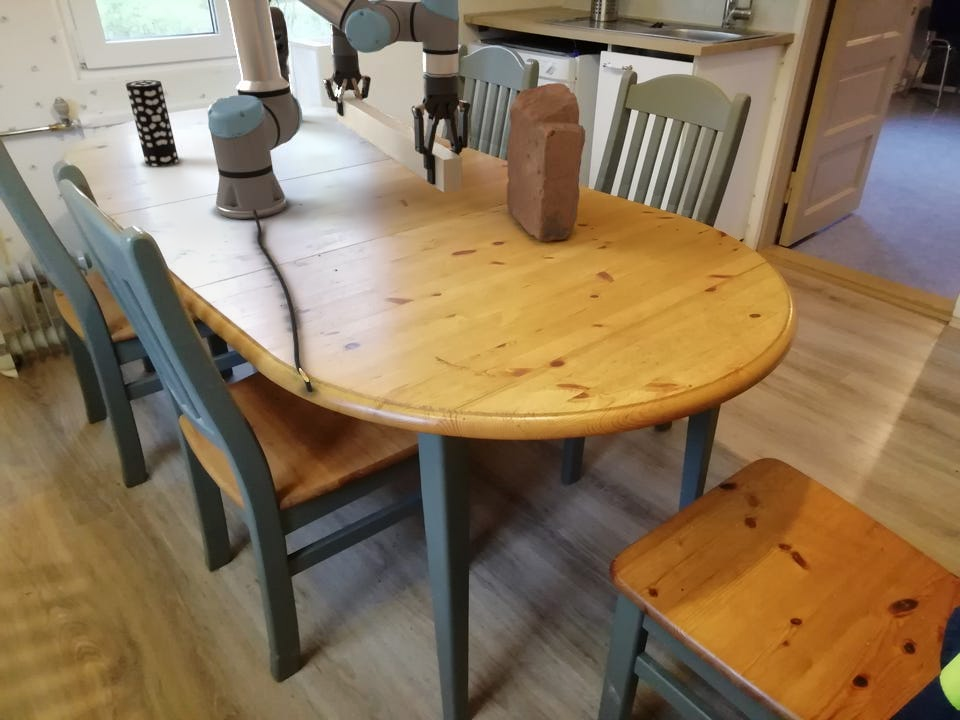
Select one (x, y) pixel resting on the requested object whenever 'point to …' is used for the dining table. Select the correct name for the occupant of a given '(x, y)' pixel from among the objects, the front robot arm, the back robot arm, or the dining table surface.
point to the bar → (400, 142)
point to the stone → (545, 160)
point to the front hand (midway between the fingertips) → (441, 180)
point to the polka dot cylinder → (152, 122)
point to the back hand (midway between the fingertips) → (349, 114)
